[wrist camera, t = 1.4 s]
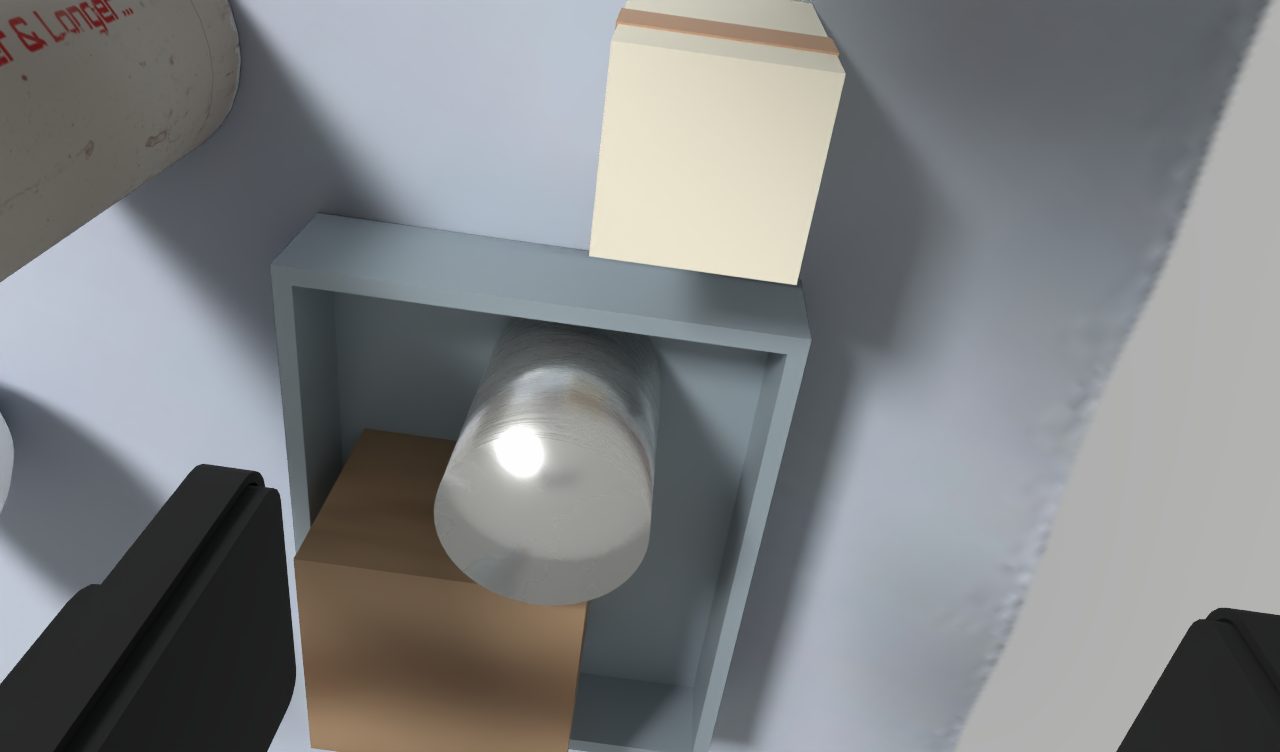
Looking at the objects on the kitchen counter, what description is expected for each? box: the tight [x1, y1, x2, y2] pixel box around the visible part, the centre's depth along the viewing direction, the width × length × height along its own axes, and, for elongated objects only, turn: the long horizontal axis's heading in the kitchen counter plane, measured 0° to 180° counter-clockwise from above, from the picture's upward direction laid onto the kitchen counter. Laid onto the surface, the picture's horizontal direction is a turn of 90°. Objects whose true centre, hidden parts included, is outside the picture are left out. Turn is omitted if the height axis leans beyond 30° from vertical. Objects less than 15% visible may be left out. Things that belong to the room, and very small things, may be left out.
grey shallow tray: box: [270, 213, 812, 752], centre depth 35 cm, size 20×16×4 cm
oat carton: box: [589, 0, 846, 285], centre depth 25 cm, size 5×5×8 cm
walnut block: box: [294, 428, 590, 752], centre depth 34 cm, size 9×9×7 cm
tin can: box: [434, 317, 662, 606], centre depth 30 cm, size 6×6×8 cm
